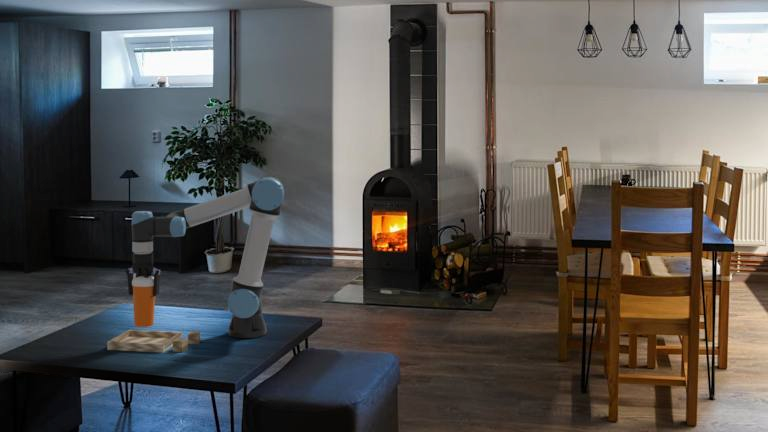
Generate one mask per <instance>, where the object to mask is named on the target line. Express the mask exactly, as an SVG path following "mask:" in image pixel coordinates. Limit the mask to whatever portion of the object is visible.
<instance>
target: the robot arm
mask: <svg viewBox="0 0 768 432" xmlns="http://www.w3.org/2000/svg"><path fill="white" fill-rule="evenodd" d="M285 193H286V189H285V185H284V182H282V180H281V179H280V178H279V177H277V176H275V175H265V176H263V177H262V176H261V178H259V179H258V180H255V181H254V182H250V183H248V184H246V185H245V187H244V188H241V189H238V190H235V191H233V192H229V193H227V194H224V195H221V196H217V197H215V198H212V199H209V200H207V201H206V200H205V201H203V202H200V203H198V204H195V205H192V206H188V207H186V208H184V209H180V210H177V211H173V212H170V213H168V214H167V215H166V216H154V215H153V212H152V211H149V210H138V211H137V210H136V211H134V212H132V214H131V225H130V226H131V237H132V238H131V241H132V242H131V243H132V246H131V247H132V248H131V249H132V250H131V251H132V252H133V253H132V267H129V268H126V269H125V274H126V276H127V277H126V278H127V289H128V295H129V296H133V286H132V280H133V275H134V274H135V273H136V277H139V276H144V277H146V278H148V275H140V274H151V273H153V277H154V291H153V297H154V296H155V297H156V296H159V294H160V277H161V276H160V275H161V273H162V269H158V268H156V267H155V265H154V253H153V252H154V237H155V238H156V237H158V238H159V237H160V238H161V237H162V238H163V237H164V238H166V237H167V238H168V237H170V238H177V237H184V236H185V235H186V231H187V229H189V228H192V227H195V226H198V225H201V224H204V223H207V222H210V221H212V220H215V219H216V220H217V219H218V218H221V217H224V216H227V215H231V214H233V213H236V212H239V211H242V210H245V209H247V208H248V210H249V212H250V214H251V217H250V221H249V226H248V231H247V235H246V238H245V243H244V249H243V253H242V258H241V263H240V267H239V271H238V275H237V276H234V277H233V278H232V280H231V283H230V285H231V288H230V293H229V296H228V297H227V302H226V303H227V307H228V311H229V312H230V313H231V319H230V322H229V324H228V328H227V330H228V332H227V334H228V336H229V337H232V338H237V339H255V338H260V337H263V336H265V335H266V334H267V325H266V322H265V319H264V316H263V311H262V310H263V307H262V306H263V304H262V301H263V300H262V298H263V297H262V295H263V294H262V293H263V290H264V289H263V288H264V283H263V281H262V275H263V271H264V267H265V262H266V259H267V253H268V250H269V249H268V248H269V244H270V240H271V235H272V232H273V226H274V224H275V223H274V222H275V220H276V219H278V217H279V216H280V213H281V210H282V206H283V201H284V199H285ZM136 277H135V278H136ZM151 297H152V296H151ZM151 297H150V298H151Z"/></svg>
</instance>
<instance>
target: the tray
mask: <svg viewBox="0 0 768 432" xmlns="http://www.w3.org/2000/svg"><path fill="white" fill-rule="evenodd" d="M178 338H182V339H183V332H182V331H165V330H164V331H160V330H141V329H139V330H138V329H128V330H126V331H124V332H122V333H121V334H119V335H117V336H115V337H112V339H110V340H108V341H106V346H107V348H106V349H107V350H108V351H128V352H147V353H148V352H149V353H165V352H166V351H168V350H170V349H172V348H173V340H176V339H178Z"/></svg>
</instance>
